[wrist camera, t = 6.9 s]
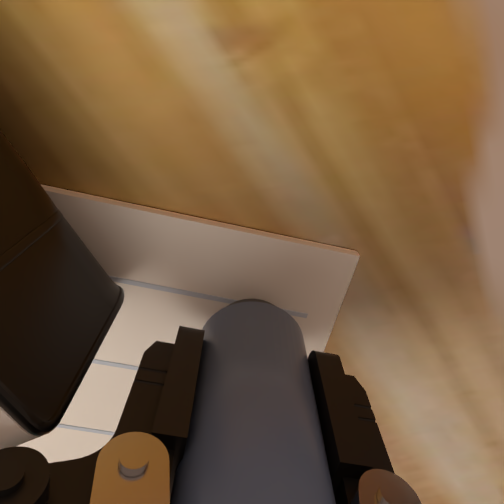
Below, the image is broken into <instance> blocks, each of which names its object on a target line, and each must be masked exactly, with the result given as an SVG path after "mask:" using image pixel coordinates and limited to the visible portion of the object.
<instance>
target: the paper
mask: <svg viewBox="0 0 504 504" xmlns="http://www.w3.org/2000/svg"><path fill="white" fill-rule="evenodd" d="M41 186H42V187H43V189H44V190H45V191H46V193H47V194H48V195H49V197H50V198H51V200H52V201H53V203H54V204H55V206H56V207H57V209H59V210H60V212H61V213H62V214H63V217H64V218H65V219H66V220H67V222H68V223H69V224H70V225H71V227H72V228H73V229H74V231H75V232H76V233H77V235H78V236H79V237H80V239H81V240H82V241H83V243H84V244H85V245H86V247H87V248H88V249H89V251H90V252H91V253H92V255H93V256H94V257H95V259H96V260H97V261H98V263H99V264H100V265H101V267H102V268H103V269H104V270H105V272H106V273H107V274H108V276H109V277H110V278H111V280H112V281H113V282H114V283H115V284H116V285H118V286H120V287H122V289H123V290H124V301H123V304H122V306H121V308H120V310H119V312H118V314H117V316H116V318H115V320H114V321H113V323H112V325H111V327H110V329H109V331H108V333H107V335H106V337H105V339H104V340H103V342H102V344H101V346H100V348H99V350H98V352H97V354H96V356H95V358H94V359H93V361H92V363H91V365H90V367H89V369H88V371H87V373H86V375H85V376H84V378H83V380H82V382H81V384H80V386H79V388H78V390H77V392H76V393H75V395H74V397H73V399H72V401H71V403H70V405H69V407H68V408H67V410H66V412H65V414H64V416H63V418H62V419H61V421H60V423H59V424H58V426H57V427H56V428H55V429H54V430H52V431H51V432H50V433H48V434H46V435H43V436H41V437H38V438H36V439H33V440H31V441H28V442H26V443H23V444H20V445H18V446H22V447H29V448H32V449H35V450H37V451H39V452H40V453H41V454H43V455H44V456H45V458H46V459H47V461H48V463H53V462H60V461H66V460H73V459H78V458H82V457H85V456H88V455H90V454H92V453H94V452H96V451H98V450H99V449H101V448H102V447H103V446H105V445H106V444H107V443H108V442H109V441H110V439H111V438H112V437H113V435H114V433H115V431H116V429H117V426H118V423H119V420H120V418H121V415H122V412H123V409H124V407H125V404H126V401H127V398H128V395H129V393H130V390H131V387H132V384H133V382H134V379H135V376H136V373H137V370H138V368H139V365H140V362H141V359H142V356H143V354H144V352H145V351H146V350H147V349H148V348H149V347H150V346H151V345H152V344H153V343H154V342H155V341H161V342H167V343H172V344H175V341H176V337H177V333H178V329H179V326H184V327H189V328H195V329H200V330H202V329H203V326H204V325H205V323H206V322H207V321H208V320H209V318H210V317H211V316H212V315H214V314H215V313H216V312H218V311H219V310H221V309H223V308H225V307H226V306H228V305H229V304H231V303H233V302H235V301H238V300H242V299H261V300H264V301H267V302H270V303H272V304H273V305H275V306H276V307H279V308H280V309H282V310H284V311H285V312H287V313H288V314H289V315H291V316H292V317H293V318H294V320H295V321H296V322H297V323H298V325H299V327H300V329H301V331H302V334H303V338H304V343H305V348H306V353H307V358H308V357H309V354H310V352H311V351H313V350H314V351H319V352H324V350H325V347H326V344H327V342H328V339H329V336H330V334H331V331H332V329H333V326H334V323H335V321H336V318H337V316H338V313H339V310H340V308H341V305H342V303H343V300H344V297H345V295H346V292H347V289H348V287H349V284H350V282H351V279H352V276H353V274H354V271H355V269H356V266H357V263H358V261H359V258H360V255H359V253H358V252H357V251H355V250H351V249H346V248H341V247H336V246H332V245H327V244H322V243H317V242H313V241H308V240H303V239H298V238H294V237H289V236H284V235H279V234H275V233H270V232H265V231H260V230H256V229H251V228H246V227H241V226H237V225H232V224H227V223H222V222H218V221H213V220H208V219H203V218H199V217H194V216H189V215H184V214H180V213H175V212H170V211H165V210H161V209H156V208H151V207H146V206H142V205H137V204H132V203H127V202H123V201H118V200H113V199H108V198H104V197H99V196H94V195H89V194H85V193H80V192H75V191H71V190H66V189H61V188H56V187H52V186H47V185H42V184H41Z"/></svg>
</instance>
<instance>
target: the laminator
mask: <svg viewBox="0 0 504 504" xmlns="http://www.w3.org/2000/svg"><path fill="white" fill-rule="evenodd" d="M123 301H124V290H123V289H122V287H120V286H118V285H116V284H115V283H114V282H113V281H112V280H111V278H110V277H109V276H108V274H107V273H106V272H105V270H104V269H103V268H102V267H101V265H100V264H99V263H98V261H97V260H96V259H95V257H94V256H93V255H92V253H91V252H90V251H89V249H88V248H87V247H86V245H85V244H84V243H83V241H82V240H81V239H80V237H79V236H78V235H77V233H76V232H75V231H74V229H73V228H72V227H71V225H70V224H69V223H68V222H67V220H66V219H65V218H64V217H63V214H62V213H61V212H60V210H59V209H57V207H56V206H55V204H54V203H53V201H52V200H51V198H50V197H49V195H48V194H47V193H46V191H45V190H44V189H43V187H42V186H41V184H40V183H39V182H38V180H37V179H36V178H35V176H34V175H33V174H32V172H31V171H30V169H29V168H28V167H27V165H26V164H25V163H24V161H23V160H22V159H21V157H20V156H19V155H18V153H17V152H16V151H15V149H14V148H13V147H12V145H11V144H10V143H9V141H8V140H7V139H6V137H5V136H4V135H3V133H2V132H1V131H0V449H4V448H8V447H15V446H18V445H20V444H23V443H26V442H28V441H31V440H33V439H36V438H38V437H41V436H43V435H46V434H48V433H50V432H51V431H52V430H54V429H55V428H56V427H57V426H58V424H59V423H60V421H61V419H62V418H63V416H64V414H65V412H66V410H67V408H68V407H69V405H70V403H71V401H72V399H73V397H74V395H75V393H76V392H77V390H78V388H79V386H80V384H81V382H82V380H83V378H84V376H85V375H86V373H87V371H88V369H89V367H90V365H91V363H92V361H93V359H94V358H95V356H96V354H97V352H98V350H99V348H100V346H101V344H102V342H103V340H104V339H105V337H106V335H107V333H108V331H109V329H110V327H111V325H112V323H113V321H114V320H115V318H116V316H117V314H118V312H119V310H120V308H121V306H122V304H123Z"/></svg>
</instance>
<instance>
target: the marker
mask: <svg viewBox="0 0 504 504" xmlns="http://www.w3.org/2000/svg"><path fill="white" fill-rule="evenodd" d="M202 330H205V333H204V339H203V345H202V351H201V357H200V364H199V370H198V376H197V382H196V388H195V394H194V400H193V407H192V413H191V419H190V425H189V431H188V437H187V442H186V446H185V450H184V455H183V459H182V460H181V461H180V463H179V465H178V467H177V469H176V472H175V476H174V481H173V487H172V492H171V498H170V504H336V502H335V497H334V491H333V486H332V481H331V476H330V471H329V466H328V461H327V456H326V451H325V445H324V440H323V435H322V430H321V425H320V420H319V415H318V410H317V404H316V399H315V394H314V389H313V384H312V379H311V374H310V369H309V364H308V358H307V353H306V348H305V343H304V338H303V334H302V331H301V329H300V327H299V325H298V323H297V322H296V321H295V320H294V318H293V317H292V316H291V315H289V314H288V313H287V312H285V311H284V310H282V309H280V308H279V307H276V306H275V305H273V304H272V303H270V302H267V301H264V300H261V299H242V300H238V301H235V302H233V303H231V304H229V305H228V306H226V307H225V308H223V309H221V310H219V311H218V312H216V313H215V314H214V315H212V316H211V317H210V318H209V320H208V321H207V322H206V323H205V325H204V326H203V329H202Z"/></svg>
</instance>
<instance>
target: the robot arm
mask: <svg viewBox="0 0 504 504" xmlns="http://www.w3.org/2000/svg"><path fill="white" fill-rule="evenodd" d="M204 333H205V330H200V329H195V328H189V327H184V326H179V329H178V333H177V337H176V341H175V344H172V343H167V342H161V341H155V342H154V343H153V344H152V345H151V346H150V347H149V348H148V349H147V350H146V351H145V352H144V354H143V356H142V359H141V362H140V365H139V368H138V370H137V373H136V376H135V379H134V382H133V384H132V387H131V390H130V393H129V395H128V398H127V401H126V404H125V407H124V409H123V412H122V415H121V418H120V420H119V423H118V426H117V429H116V431H115V433H114V435H113V437H112V438H111V439H110V441H109V442H108V443H107V444H106V445H105V446H103V447H102V448H101V449H99V450H98V451H96V452H94V453H92V454H90V455H88V456H85V457H82V458H78V459H73V460H66V461H60V462H53V463H48V461H47V459H46V458H45V456H44V455H43V454H41V453H40V452H39V451H37V450H35V449H32V448H29V447H22V446H15V447H8V448H4V449H0V504H170V498H171V492H172V487H173V481H174V476H175V472H176V469H177V467H178V465H179V463H180V461H181V460H182V459H183V455H184V450H185V446H186V442H187V437H188V431H189V425H190V419H191V413H192V407H193V400H194V394H195V388H196V382H197V376H198V370H199V364H200V357H201V351H202V345H203V339H204ZM308 364H309V369H310V374H311V379H312V384H313V389H314V394H315V399H316V404H317V410H318V415H319V420H320V425H321V430H322V435H323V440H324V445H325V451H326V456H327V461H328V466H329V471H330V476H331V481H332V486H333V491H334V497H335V502H336V504H421V502H420V500H419V498H418V496H417V494H416V493H415V491H414V490H413V489H412V488H411V487H410V486H409V484H408V483H406V482H405V481H404V480H403V479H402V478H400V477H399V476H397V475H396V474H395V473H394V471H393V468H392V465H391V462H390V459H389V457H388V454H387V451H386V448H385V445H384V442H383V439H382V437H381V434H380V431H379V428H378V425H377V423H375V420H376V419H375V417H374V414H373V411H372V410H371V405H370V402H369V399H368V397H367V394H366V391H365V390H364V388H363V387H362V386H361V385H360V383H359V382H358V381H357V380H356V378H355V377H354V376H350V375H345V373H344V370H343V367H342V363H341V360H340V357H339V356H338V355H335V354H330V353H324V352H319V351H314V350H313V351H311V352H310V354H309V357H308Z"/></svg>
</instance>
